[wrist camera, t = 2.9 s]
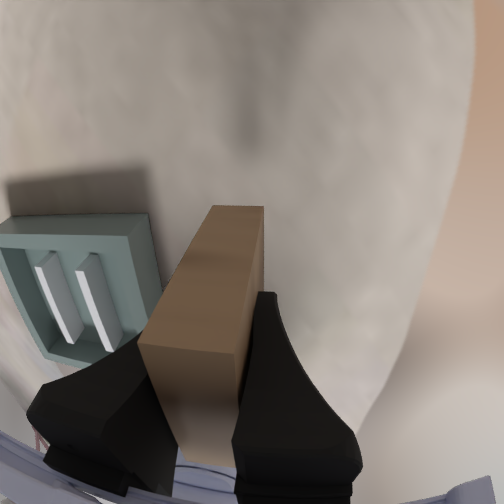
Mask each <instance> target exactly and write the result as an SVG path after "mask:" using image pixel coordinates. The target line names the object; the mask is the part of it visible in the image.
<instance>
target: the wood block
mask: <svg viewBox="0 0 504 504" xmlns="http://www.w3.org/2000/svg"><path fill="white" fill-rule="evenodd" d="M258 291H264V206H224V205H213V206H212V208H211V209H210V211H209V213H208V214H207V216H206V218H205V219H204V221H203V223H202V225H201V226H200V228H199V230H198V232H197V233H196V235H195V237H194V238H193V240H192V242H191V244H190V245H189V247H188V249H187V251H186V252H185V254H184V256H183V258H182V260H181V261H180V263H179V265H178V267H177V269H176V270H175V272H174V274H173V276H172V278H171V279H170V281H169V283H168V285H167V287H166V289H165V290H164V292H163V294H162V296H161V298H160V300H159V301H158V303H157V305H156V307H155V309H154V311H153V313H152V315H151V317H150V318H149V320H148V322H147V324H146V326H145V328H144V330H143V332H142V334H141V336H140V338H139V340H138V342H137V344H138V347H139V349H140V352H141V355H142V358H143V361H144V364H145V366H146V369H147V372H148V374H149V377H150V380H151V382H152V385H153V387H154V390H155V392H156V395H157V397H158V400H159V402H160V405H161V407H162V410H163V412H164V414H165V417H166V419H167V421H168V424H169V426H170V428H171V430H172V433H173V435H174V437H175V439H176V441H177V443H178V446H179V448H180V450H181V452H182V454H183V456H184V458H185V460H186V461H189V462H195V463H201V464H208V465H215V466H223V467H231V468H236V466H235V461H234V455H233V449H232V443H231V440H232V436H233V433H234V429H235V425H236V422H237V418H238V414H239V411H240V406H241V402H242V398H243V394H244V389H245V385H246V380H247V375H248V370H249V365H250V360H251V355H252V348H253V326H254V308H255V303H256V299H257V295H258Z"/></svg>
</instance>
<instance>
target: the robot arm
mask: <svg viewBox="0 0 504 504" xmlns="http://www.w3.org/2000/svg"><path fill="white" fill-rule="evenodd" d="M143 330H144V329H143ZM143 330H142V331H141V332H140V333H139V334H138V335H136V336H135V337H134V338H133V339H131V340H130V341H129V342H127V343H126V344H124V345H123V346H121V347H120V348H119V349H117V350H116V351H114V352H112V353H111V354H109V355H107V356H106V357H104V358H102V359H101V360H99V361H97V362H95V363H94V364H92V365H90V366H88V367H86V368H84V369H82V370H80V371H77V372H75V373H73V374H71V375H68V376H66V377H63V378H60V379H58V380H55V381H52V382H49V383H46V384H43V385H42V387H41V388H40V390H39V391H38V393H37V395H36V396H35V398H34V400H33V402H32V403H31V405H30V407H29V409H28V410H27V412H26V416H27V418H28V420H29V422H30V423H31V425H32V426H33V427H34V428H35V429H36V430H37V431H38V432H39V433H40V435H41V436H42V437H43V438H44V439H45V440H46V441H47V442H48V443H49V444H50V446H49V448H48V450H47V453H46V454H44V453H42V452H40V451H38V450H36V449H34V448H32V447H29V446H28V445H26V444H24V443H22V442H20V441H18V440H16V439H15V438H13V437H11V436H9V435H8V434H6V433H4V432H2V431H1V430H0V493H1V494H3V495H4V496H5V497H7V498H8V499H10V500H11V501H13V502H14V503H16V504H102V503H101V502H99V501H98V500H97V499H96V498H95V497H93V496H91V495H89V494H92V495H94V496H97V497H99V498H103V499H105V500H108V501H111V502H114V503H117V504H350V496H352V493H353V492H352V482H353V481H354V480H355V478H356V477H357V476H358V475H359V473H360V472H361V470H362V468H363V463H362V456H361V452H360V448H359V445H358V443H357V440H356V437H355V435H354V432H353V431H352V430H351V429H350V428H349V427H348V425H347V424H346V423H345V422H344V421H343V420H342V419H341V418H340V417H339V416H338V415H337V414H336V413H335V412H334V410H333V409H332V408H331V407H330V406H329V404H328V403H327V402H326V401H325V399H324V398H323V397H322V395H321V394H320V393H319V391H318V390H317V388H316V387H315V386H314V384H313V383H312V381H311V380H310V378H309V377H308V375H307V374H306V372H305V370H304V369H303V367H302V365H301V363H300V362H299V360H298V358H297V356H296V354H295V352H294V350H293V347H292V345H291V343H290V341H289V338H288V336H287V334H286V331H285V328H284V325H283V323H282V319H281V316H280V312H279V308H278V303H277V294H276V293H275V292H265V291H258V295H257V299H256V303H255V308H254V326H253V348H252V355H251V360H250V365H249V370H248V375H247V380H246V385H245V389H244V394H243V398H242V402H241V406H240V411H239V414H238V418H237V422H236V425H235V429H234V433H233V436H232V440H231V443H232V449H233V455H234V461H235V466H236V468H231V467H223V466H215V465H208V464H201V463H195V462H189V461H186V460H185V458H184V456H183V454H182V452H181V450H180V448H179V446H178V443H177V441H176V439H175V437H174V435H173V433H172V430H171V428H170V426H169V424H168V421H167V419H166V417H165V414H164V412H163V410H162V407H161V405H160V402H159V400H158V397H157V395H156V392H155V390H154V387H153V385H152V382H151V380H150V377H149V374H148V372H147V369H146V366H145V364H144V361H143V358H142V355H141V352H140V349H139V347H138V344H137V342H138V340H139V338H140V336H141V334H142V332H143ZM81 490H82V491H81ZM83 491H84V492H83ZM85 492H87V493H89V494H87V493H85ZM401 504H496V501H495V496H494V491H493V486H492V482H491V477H490V476H485V477H482V478H478V479H475V480H472V481H469V482H465V483H463V484H460V485H458V486H455V487H454V488H452V489H451V490H450V491H448V492H447V494H443V495H439V496H435V497H431V498H426V499H422V500H417V501H412V502H406V503H401Z"/></svg>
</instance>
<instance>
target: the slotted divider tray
mask: <svg viewBox="0 0 504 504" xmlns="http://www.w3.org/2000/svg"><path fill="white" fill-rule="evenodd" d="M0 269H1V272H2V274H3V277H4V279H5V281H6V284H7V286H8V288H9V291H10V293H11V295H12V297H13V299H14V302H15V304H16V306H17V308H18V310H19V312H20V314H21V316H22V318H23V320H24V322H25V324H26V326H27V328H28V330H29V331H30V333H31V335H32V337H33V339H34V341H35V343H36V344H37V346H38V348H39V350H40V351H41V353H42V355H43V356H44V358H45V359H48V360H52V361H55V362H59V363H62V364H66V365H70V366H73V367H77V368H81V369H84V368H86V367H88V366H90V365H92V364H94V363H95V362H97V361H99V360H101V359H102V358H104V357H106V356H107V355H109V354H111V353H112V352H114V351H116V350H117V349H119V348H120V347H121V346H123V345H124V344H126V343H127V342H129V341H130V340H131V339H133V338H134V337H135V336H136V335H138V334H139V333H140V332H141V331H142V330H143V329H144V328H145V326H146V324H147V322H148V320H149V318H150V317H151V315H152V313H153V311H154V309H155V307H156V305H157V303H158V301H159V300H160V298H161V296H162V294H163V291H162V286H161V282H160V277H159V272H158V267H157V262H156V257H155V251H154V246H153V240H152V235H151V229H150V223H149V217H148V213H119V214H64V215H33V216H11V217H9V218H8V219H7V220H5V221H4V222H2V223H1V224H0Z"/></svg>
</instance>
